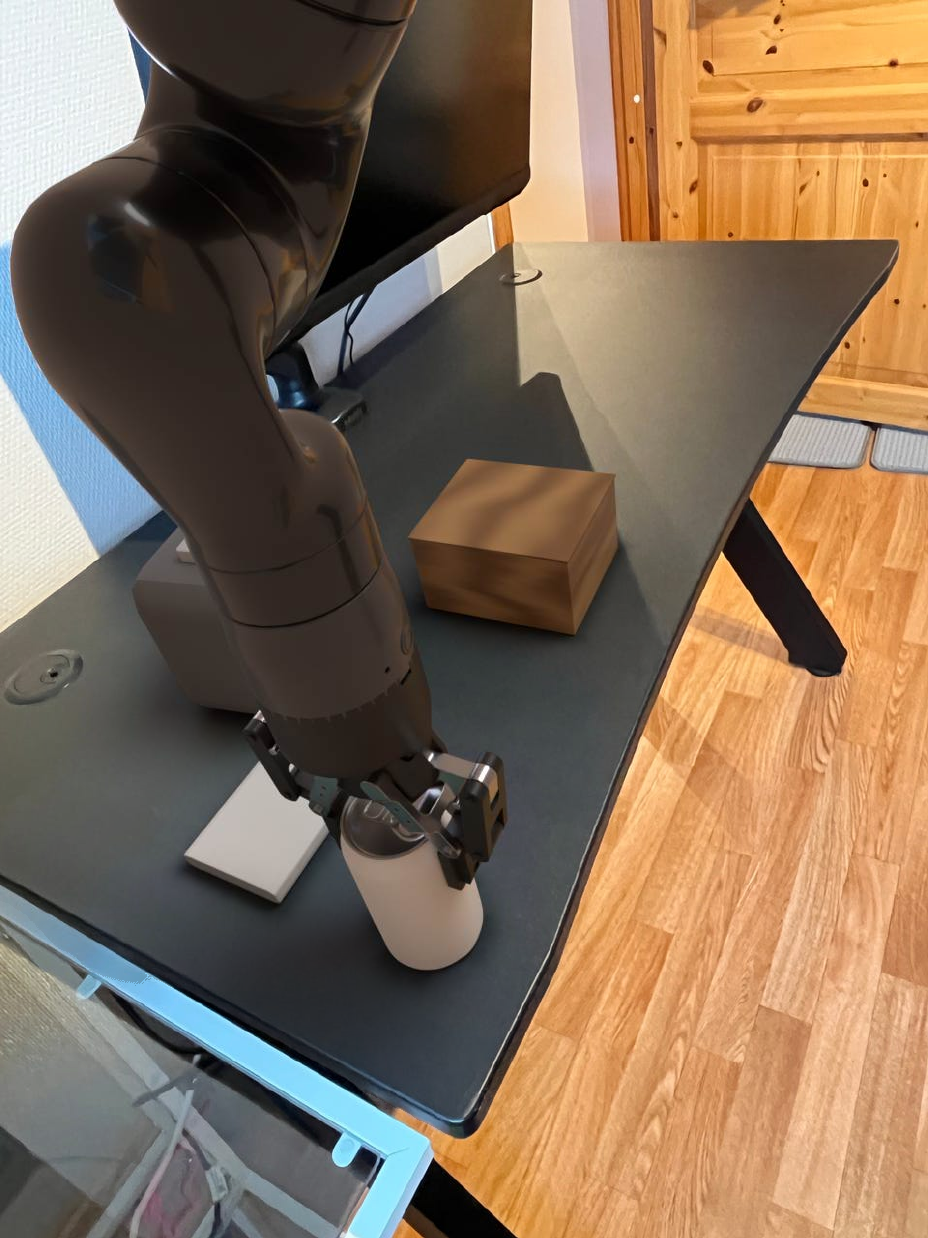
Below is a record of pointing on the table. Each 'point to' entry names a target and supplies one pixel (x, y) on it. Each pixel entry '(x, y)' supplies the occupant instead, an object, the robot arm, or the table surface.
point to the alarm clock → (189, 629)
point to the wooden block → (518, 543)
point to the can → (408, 888)
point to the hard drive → (259, 838)
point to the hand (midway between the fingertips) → (408, 856)
